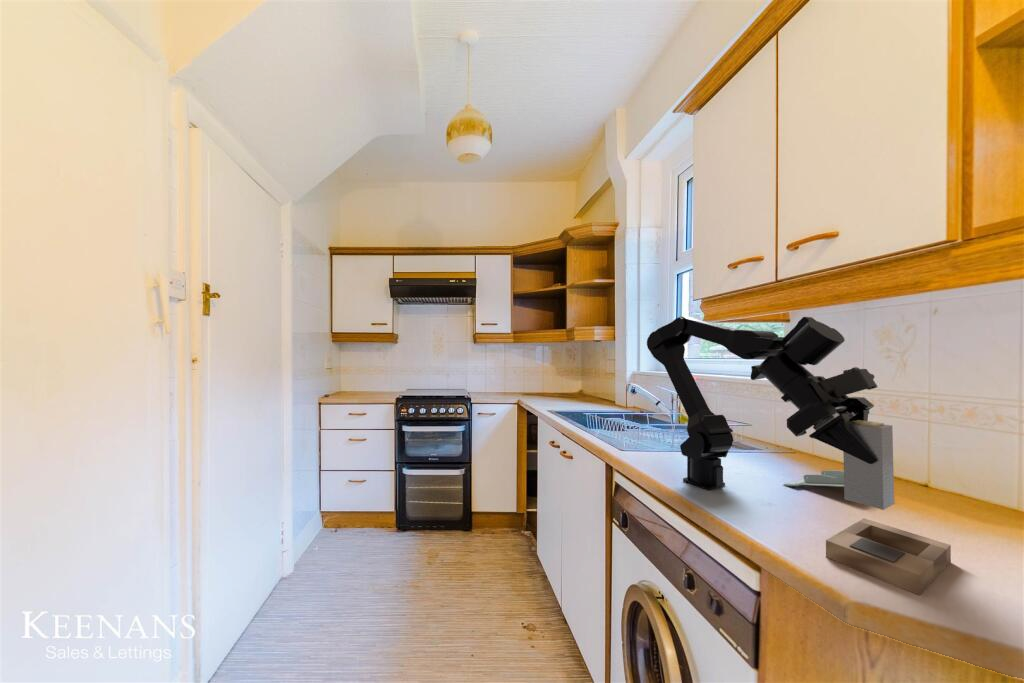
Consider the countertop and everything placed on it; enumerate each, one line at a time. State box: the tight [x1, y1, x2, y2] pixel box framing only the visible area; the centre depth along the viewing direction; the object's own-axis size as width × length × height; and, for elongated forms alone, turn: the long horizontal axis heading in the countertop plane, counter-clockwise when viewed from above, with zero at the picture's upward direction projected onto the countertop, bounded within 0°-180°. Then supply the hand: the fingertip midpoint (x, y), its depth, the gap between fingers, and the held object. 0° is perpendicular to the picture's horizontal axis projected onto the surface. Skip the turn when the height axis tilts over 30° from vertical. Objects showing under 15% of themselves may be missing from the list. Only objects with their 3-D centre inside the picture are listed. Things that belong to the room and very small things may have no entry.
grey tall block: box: [842, 420, 895, 511], centre depth 57 cm, size 4×4×12 cm
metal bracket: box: [782, 469, 844, 488], centre depth 81 cm, size 14×6×15 cm
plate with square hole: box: [825, 518, 952, 596], centre depth 54 cm, size 10×15×3 cm, turn 120°
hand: (880, 460), depth 56 cm, fingers closed on grey tall block, 4 cm apart
